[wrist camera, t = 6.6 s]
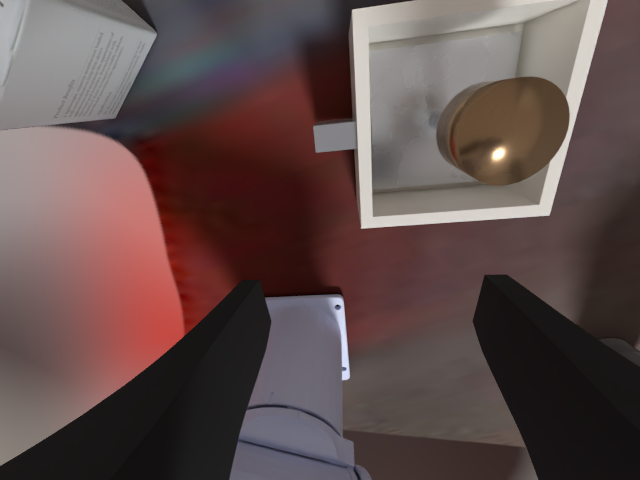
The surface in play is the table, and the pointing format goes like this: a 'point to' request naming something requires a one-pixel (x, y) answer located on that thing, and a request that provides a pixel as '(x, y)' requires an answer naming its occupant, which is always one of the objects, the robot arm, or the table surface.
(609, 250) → the table surface
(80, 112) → the skincare box
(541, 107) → the plunger
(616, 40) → the table surface
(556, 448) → the robot arm
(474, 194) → the white framed panel box
